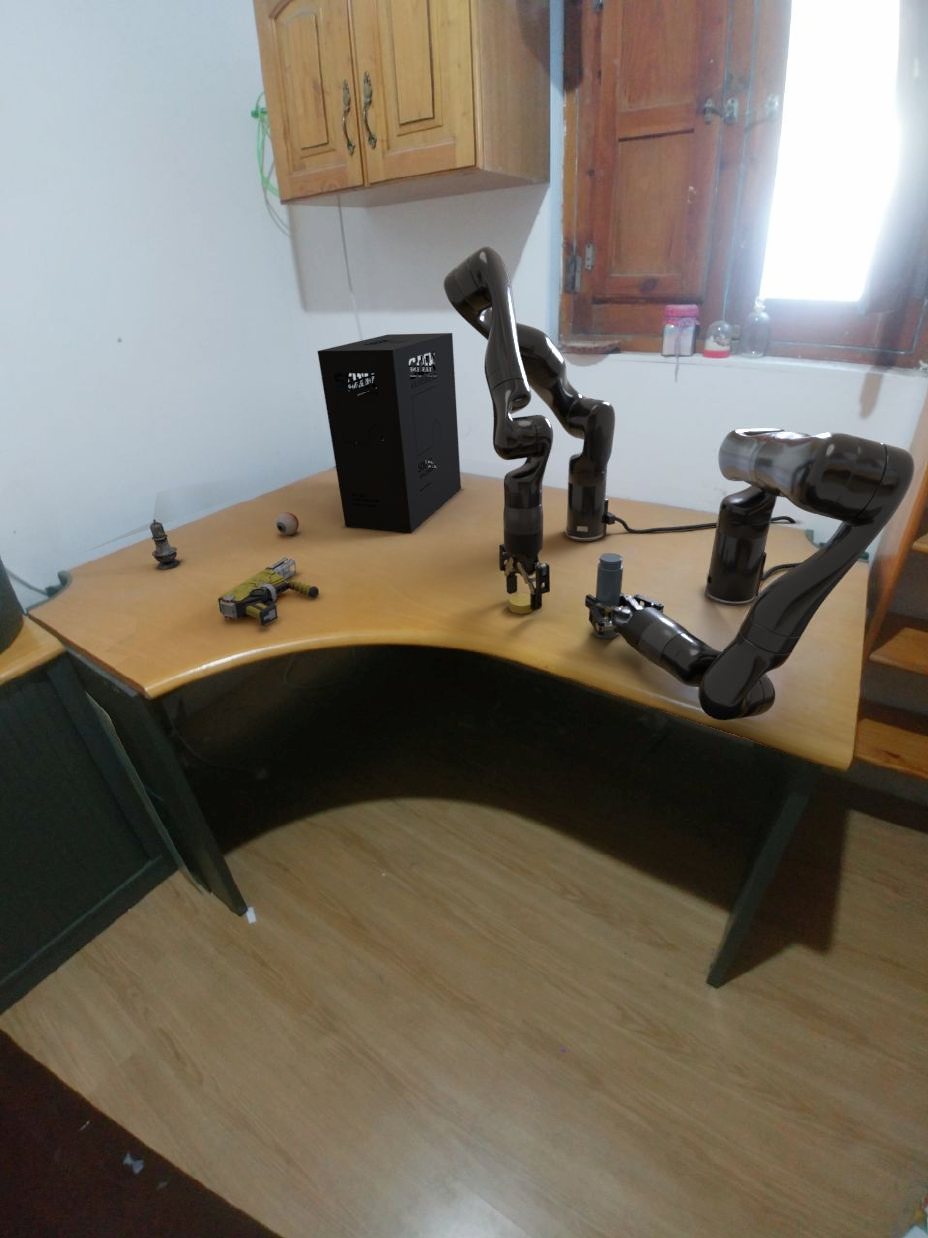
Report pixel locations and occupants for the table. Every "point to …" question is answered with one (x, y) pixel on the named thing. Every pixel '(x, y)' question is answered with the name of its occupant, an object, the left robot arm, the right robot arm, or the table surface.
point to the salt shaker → (163, 547)
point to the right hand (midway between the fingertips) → (598, 596)
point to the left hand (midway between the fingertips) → (523, 600)
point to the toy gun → (262, 593)
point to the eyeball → (287, 523)
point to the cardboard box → (393, 428)
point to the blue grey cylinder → (609, 584)
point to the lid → (520, 603)
